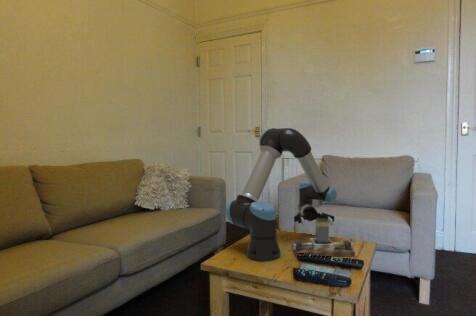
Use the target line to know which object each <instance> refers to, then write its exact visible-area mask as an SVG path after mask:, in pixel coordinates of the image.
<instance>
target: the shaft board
mask: <svg viewBox="0 0 476 316" xmlns="http://www.w3.org/2000/svg"><path fill="white" fill-rule="evenodd" d="M353 249H354V244H353V243H352V242H351V241H350V240H343V242H336V241H335V242H333V240H332V239H330V238H329V244H316V237H315V238H313V237H312V238H311V237H310V238H309V242H303V243H302V241H301V240H295V243H291V250H292V252H293V255H294V257H295V258H298V257H297V255H298V254H299V253H308V254H315V255H325V256H332V257H331V258H333V257H340V258H341V257H342V258H344V257H345V258H347V257H351V258H352V257H355V256H356V255H355V254H356V251H354V250H353Z"/></svg>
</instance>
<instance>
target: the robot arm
mask: <svg viewBox="0 0 476 316" xmlns="http://www.w3.org/2000/svg"><path fill="white" fill-rule="evenodd" d="M258 139H259V142H258V145H259V150H260V153H259V155H258V158H257V160H256V162H255V164H254V166H253V169H252V171H251V174H250V175H249V177H248V180H247V181H246V184H245V186H244V188H243V191H242V192H241V193H239V194H237V196H236V198H235V199H234V200H232V201H229V203H228V204H227V207H226V211H225V214H226V219H227V220H228V222H229V223H230V224H231V225H235V226H237V227H240V228H244V229H247V230H249V231H250V233H249V234H250V237H249V242H248V245H247V249H246V257H247V258H248V259H251V260H254V261H257V262H269V261H270V262H271V261H275V260H278V259H279V258H280V257H281V248H280V246H279V243H278V238H277V220H278V219H277V217H278V214H277V209H276V208H277V207H276V206H275V205H273V204H272V203H269V202H266V201H260V197H261V195H262V193H263V190H264V188H265V186H266V184H267V182H268V179H269V177H270V175H271V173H272V171H273V168H274V166H275V163H276V160H277V159H280V158H281V156H282V155H283V153H284V152H288V153H290V154H291V155H293V157H294V158H295V159H297V161H298V162H299V164H300V166H301V168H302V170H303V171H304V174H305V175H306V177H307V179H308V180H304V181H303V180H302V181H300V182H299V188H298V191H299V192H298V195H299V196H298V197H299V201H298V205H297V206H298V207H297V208H298V209H297V210H298V213H297V214H296V215H295V216H293V217H294V218H293V220H294V222H295V223H296V222H297V224H301V225H302V227H305V221H308V222H313V221H315V220H316V219H323V218H326V219H327V220H328V221H329V226H334V225H333V222H335V216H334V215H331V214H328V213H325V212H323V211H322V212H321V213H320V212H318V211H317V209H316V208H315V207H314V206H313V205H314V204H313V202H314V201H313V200H316V201H320V202H326V203H333V202H335V201H336V199H337V196H338V192H337V190H336V189H335V188H332V187H329V184H328V183H327V180H326V177H325V176H324V174H323V173H322V171H321V169H320V166H319V165H318V163H317V161H316V158H315V157H314V155H313V153H312V147H311V145H310V142H309V141H308V140H307V138H306V137H305V136H304V135H303V134H302V133H301V132H300V131H298V130H296V129H294V128H292V127H287V128H285V127H284V128H281V127H280V128H276V127H274V128H271V127H270V128H267V129H265V130H263V131H262V132H261V134H260V136H259V138H258Z"/></svg>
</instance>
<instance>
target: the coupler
mask: <svg viewBox="0 0 476 316" xmlns="http://www.w3.org/2000/svg"><path fill="white" fill-rule="evenodd" d="M314 221H315V222H314V223H315V238H316V244H329V233H330V231H329V228H330V224H329V221H328V220H327V219H326V218H323V219H315V220H314Z"/></svg>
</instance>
